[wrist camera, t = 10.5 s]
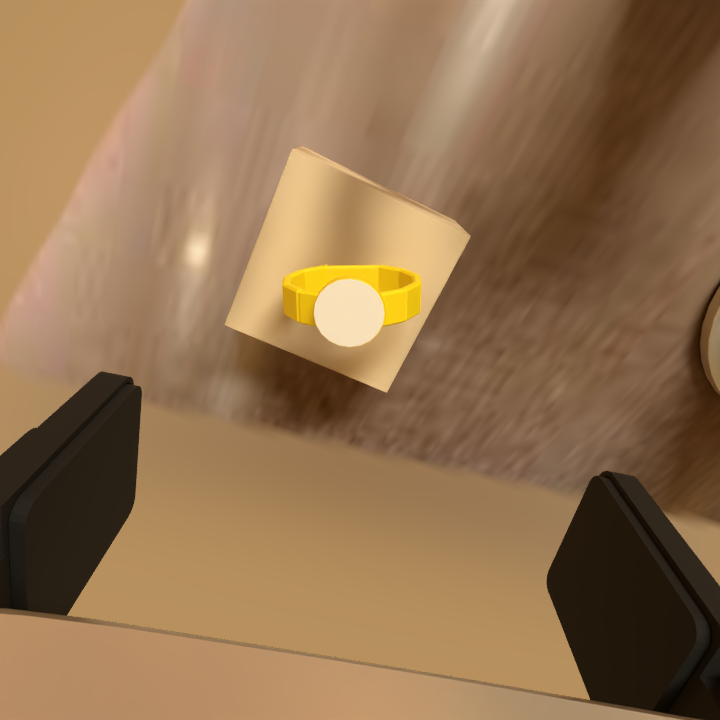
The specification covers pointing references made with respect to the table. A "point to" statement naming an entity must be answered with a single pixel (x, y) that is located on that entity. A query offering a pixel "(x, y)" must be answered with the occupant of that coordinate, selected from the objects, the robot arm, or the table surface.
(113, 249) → the table surface
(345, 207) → the wood block
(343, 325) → the watch
